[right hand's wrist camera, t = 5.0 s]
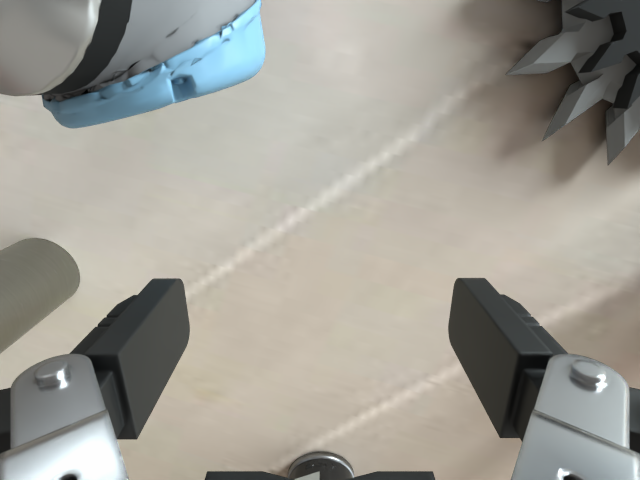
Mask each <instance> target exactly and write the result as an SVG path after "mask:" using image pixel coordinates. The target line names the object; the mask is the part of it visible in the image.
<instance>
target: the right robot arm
mask: <svg viewBox="0 0 640 480" xmlns="http://www.w3.org/2000/svg"><path fill="white" fill-rule="evenodd" d="M448 331H449V339H450V343H451V345H452V348H453V349H454V351H455V353H456V355H457V357H458V359H459V361H460V363H461V365H462V367H463V368H464V370H465V372H466V374H467V376H468V378H469V380H470V382H471V384H472V386H473V387H474V389H475V391H476V393H477V395H478V397H479V399H480V401H481V403H482V405H483V406H484V408H485V410H486V412H487V414H488V416H489V418H490V420H491V422H492V424H493V425H494V427H495V429H496V431H497V433H498V435H499V437H500V438H520V439H521V441H522V445H521V449H520V452H519V455H518V458H517V462H516V465H515V468H514V471H513V474H512V478H511V480H640V389H635V388H630V387H629V386H628V384H627V382H626V381H625V379H624V378H623V377H622V376H621V375H620V374H619V373H617V372H616V371H615V370H613V369H612V368H610V367H609V366H607V365H605V364H603V363H601V362H599V361H597V360H594V359H591V358H588V357H585V356H580V355H575V354H568V353H567V352H566V351H565V350H564V349H563V348H562V347H561V346H560V345H559V344H558V343H557V342H556V340H555V339H554V338H553V337H552V336H551V335H550V334H549V333H548V332H547V331H546V330H545V329H544V328H543V327H542V326H539V323H538V322H537V321H536V320H535V319H534V318H533V317H531V315H530V313H529V312H528V311H527V310H526V309H525V308H524V307H523V306H522V305H521V304H520V303H518V302H516V301H514V300H513V299H511V298H509V297H507V296H506V295H500V294H499V293H498V292H497V291H496V290H495V289H494V287H493V286H492V285H491V284H490V283H489V282H488V281H487V280H486V279H485V278H457V279H456V281H455V284H454V289H453V296H452V303H451V311H450V318H449V326H448ZM189 332H190V326H189V318H188V311H187V304H186V297H185V290H184V285H183V282H182V280H181V279H152V280H151V281H150V282H149V283H148V284H147V285H146V287H145V288H144V289H143V290H142V291H141V292H140V293H139V294H138V295H133V296H131V297H130V298H128V299H126V300H124V301H123V302H121V303H119V304H117V305H116V306H115V307H114V308H113V309H112V310H111V312H110V313H109V314H108V315H107V318H104V319H103V320H102V321H101V322H100V323H99V324H98V327H95V328H94V329H93V330H92V331H91V332H90V333H89V334H88V335H87V336H86V337H85V338H84V339H83V340H82V341H81V342H80V343H79V344H78V345H77V347H76V348H75V349H74V350H73V351H72V352H71V353H70V354H65V355H60V356H55V357H52V358H49V359H46V360H43V361H41V362H39V363H37V364H35V365H33V366H31V367H30V368H28V369H27V370H25V371H24V372H23V373H21V374H20V375H19V376H18V377H17V378H16V379H15V381H14V382H13V384H12V386H11V388H8V389H3V390H0V480H129V478H128V474H127V471H126V468H125V465H124V462H123V458H122V455H121V452H120V449H119V445H118V442H117V439H137V438H138V436H139V435H140V433H141V431H142V429H143V427H144V425H145V423H146V421H147V420H148V418H149V416H150V414H151V412H152V410H153V408H154V406H155V405H156V403H157V401H158V399H159V397H160V395H161V393H162V391H163V390H164V388H165V386H166V384H167V382H168V380H169V378H170V376H171V375H172V373H173V371H174V369H175V367H176V365H177V363H178V361H179V360H180V358H181V356H182V354H183V352H184V350H185V348H186V346H187V344H188V340H189ZM205 480H435V477H434V474H433V472H373V473H370V474H366V475H362V476H358V477H354V472H353V469H352V467H351V465H350V464H349V463H348V462H347V461H346V460H345V459H344V458H342V457H340V456H338V455H336V454H333V453H328V452H314V453H309V454H306V455H304V456H301V457H300V458H298V459H297V460H296V461H294V462H293V464H292V465H291V467H290V469H289V472H288V478H286V477H282V476H278V475H274V474H270V473H267V472H207V474H206V477H205Z"/></svg>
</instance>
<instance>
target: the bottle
mask: <svg viewBox="0 0 640 480" xmlns="http://www.w3.org/2000/svg"><path fill="white" fill-rule="evenodd" d="M79 282H80V274H79V270H78V267H77V265H76V263H75V261H74V260H73V258H72V257H71V256H70V254H69V253H68V252H67V251H66V250H64V249H63V248H62V247H60V246H59V245H57V244H55V243H53V242H51V241H48V240H44V239H38V238H30V239H25V240H22V241H19V242H17V243H15V244H13V245H11V246H9V247H7V248H5V249H3V250H1V251H0V354H1V353H2V352H3V351H4V350H5V349H7V348H8V347H9V346H10V345H12V344H13V343H14V342H15V341H17V340H18V339H19V338H20V337H22V336H23V335H24V334H25V333H27V332H28V331H29V330H30V329H31V328H33V327H34V326H35V325H36V324H38V323H39V322H40V321H41V320H43V319H44V318H45V317H46V316H48V315H49V314H50V313H51V312H53V311H54V310H55V309H56V308H58V307H59V306H60V305H61V304H62V303H64V302H65V301H66V300H67V299H69V298H70V297H71V296H72V295H73V294H74V293H75V292H76V290H77V289H78V286H79Z"/></svg>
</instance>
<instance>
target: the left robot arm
mask: <svg viewBox="0 0 640 480" xmlns="http://www.w3.org/2000/svg"><path fill="white" fill-rule="evenodd" d="M260 8H261V0H0V94H4V95H11V96H29V95H42V100H43V106H44V107H45V108H46V109H48V110H49V111H50V112H51V113H52V114H53V116H54V118H55V119H56V120H57V121H58V122H59V123H60V124H61V125H63V126H65V127H68V128H82V127H87V126H92V125H97V124H101V123H106V122H110V121H114V120H118V119H122V118H126V117H130V116H134V115H137V114H141V113H145V112H149V111H152V110H156V109H159V108H162V107H165V106H167V105H170V104H172V103H178V102H181V101H184V100H188V99H190V98H196V97H200V96H203V95H207V94H210V93H213V92H216V91H219V90H223V89H226V88H228V87H231V86H234V85H237V84H239V83H242V82H244V81H246V80H248V79H250V78H252V77H253V76H255V75H256V74H257V73H258V71H259V70H260V69H261V67H262V65H263V62H264V59H265V43H264V37H263V30H262V24H261V18H260V12H259V11H260Z"/></svg>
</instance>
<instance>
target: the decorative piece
mask: <svg viewBox="0 0 640 480" xmlns="http://www.w3.org/2000/svg"><path fill="white" fill-rule="evenodd" d="M537 1H542V2H546V3H547V2H549V1H551V0H537ZM568 63H571V65H572V66H573V68H574V70H575V72H576V74H577V76H578V78H579V79H580V80H579V81H577V82H575V83H573V84H571V85H570V86H569V88H568V90H567V92H566V94H565V96H564V98H563V100H562V102H561V104H560V106H559V107H558V109H557V111H556V113H555V115H554V117H553V119H552V121H551V123H550V125H549V127H548V129H547V131H546V133H545V136H544V138H543V140H545V139H546V138H548V137H549V136H550V135H552V134H553V133H555V132H556V131H558V130H559V129H560V128H562V127H563V126H565V125H566V124H568V123H569V122H570V121H572V120H573V119H575V118H576V117H578V116H579V115H580V114H582V113H583V112H585V111H586V110H587V109H589V108H590V107H592V106H593V105H594V104H596V103H597V102H599V101H600V100H601V99H604V100H606V101H609V102H611V103H613V105H612V106H611V107H610V108H609V109H608V110H607V111H606V137H607V160H608V165H609V164H610V163H611V162H612V161H613V160H614V159H615V157H616V156H617V155H618V154H619V153H620V152H621V151H622V150H623V149H624V148H625V147H626V145H627V144H628V143H629V142H630V140H631V139H632V138H633V137H634V135H635V134H636V133H637V132H638V130H639V129H640V0H562V31H561V32H560V33H559V35H555V36H550V37H547V38H545V39H542V40H540V41H539V42H538V43H537V44H536V45H535V46H534V47H533V48H532V49H531V50H530V51H529V52H528V53H527V54H526V55H525V56H524V57H523V58H522V59H521V60H520V61H519V62H518V63H517V64H516V65H515V66H514V67H513V68H512V69H511V70H510V71H509V72H508V73H506V74H505V75H516V74H540V73H548V72H550V71H552V70H555V69H557V68H559V67H561V66H563V65H565V64H568ZM543 140H542V141H543Z"/></svg>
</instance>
